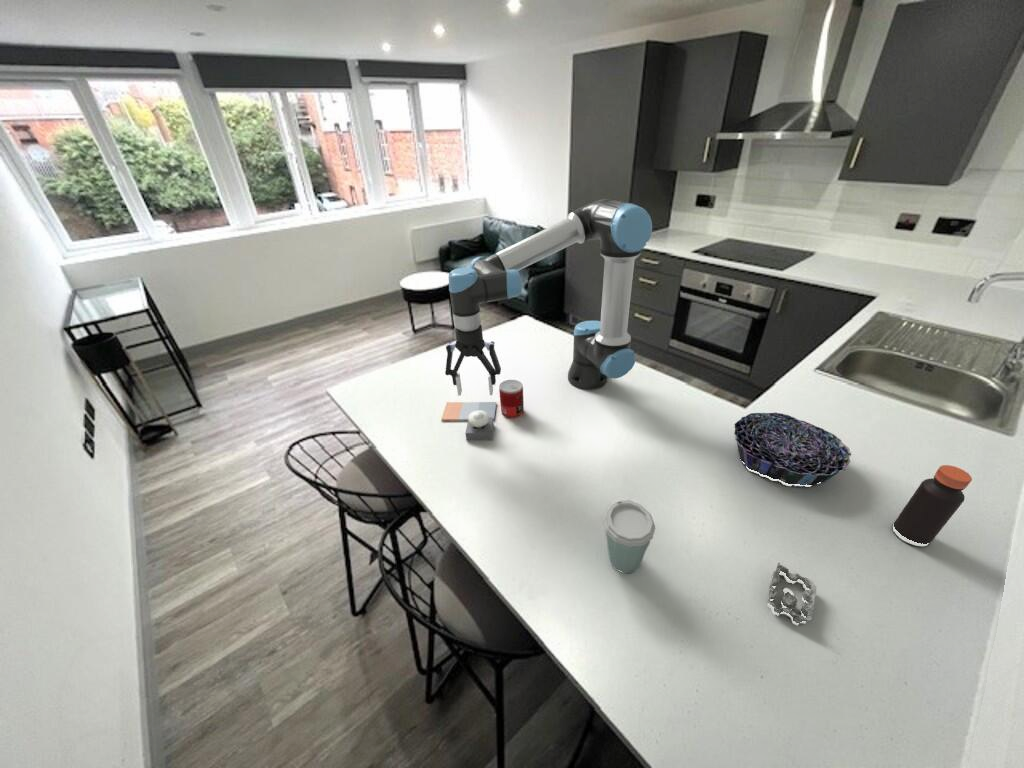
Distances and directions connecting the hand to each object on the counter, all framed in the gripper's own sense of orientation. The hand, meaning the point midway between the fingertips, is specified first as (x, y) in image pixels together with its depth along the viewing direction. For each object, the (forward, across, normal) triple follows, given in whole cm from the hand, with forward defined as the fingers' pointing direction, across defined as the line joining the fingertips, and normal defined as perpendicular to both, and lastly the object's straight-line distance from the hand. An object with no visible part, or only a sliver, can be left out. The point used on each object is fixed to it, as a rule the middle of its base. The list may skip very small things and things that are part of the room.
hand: (475, 392), depth 126 cm
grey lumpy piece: (+16, -70, +54) cm, 90 cm away
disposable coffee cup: (+16, -38, +46) cm, 62 cm away
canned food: (+16, -10, -11) cm, 22 cm away
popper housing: (+15, 0, 0) cm, 15 cm away
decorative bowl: (+16, -88, +14) cm, 90 cm away
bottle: (+16, -105, +38) cm, 113 cm away
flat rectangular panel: (+15, +5, -11) cm, 20 cm away
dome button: (+13, 0, 0) cm, 13 cm away
